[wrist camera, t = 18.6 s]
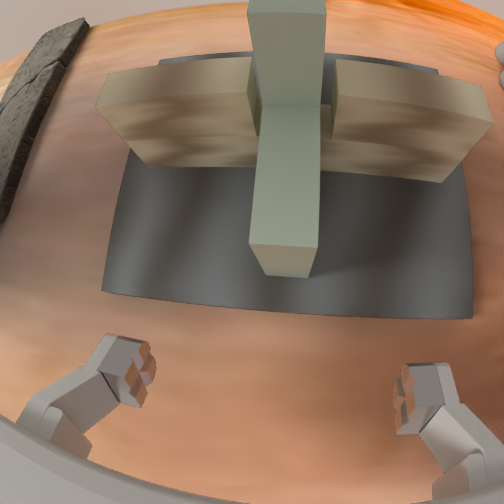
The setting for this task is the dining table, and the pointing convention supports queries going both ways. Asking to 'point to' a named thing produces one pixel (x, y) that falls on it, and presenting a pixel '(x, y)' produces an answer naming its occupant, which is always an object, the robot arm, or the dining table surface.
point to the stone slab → (32, 101)
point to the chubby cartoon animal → (503, 56)
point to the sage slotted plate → (287, 133)
